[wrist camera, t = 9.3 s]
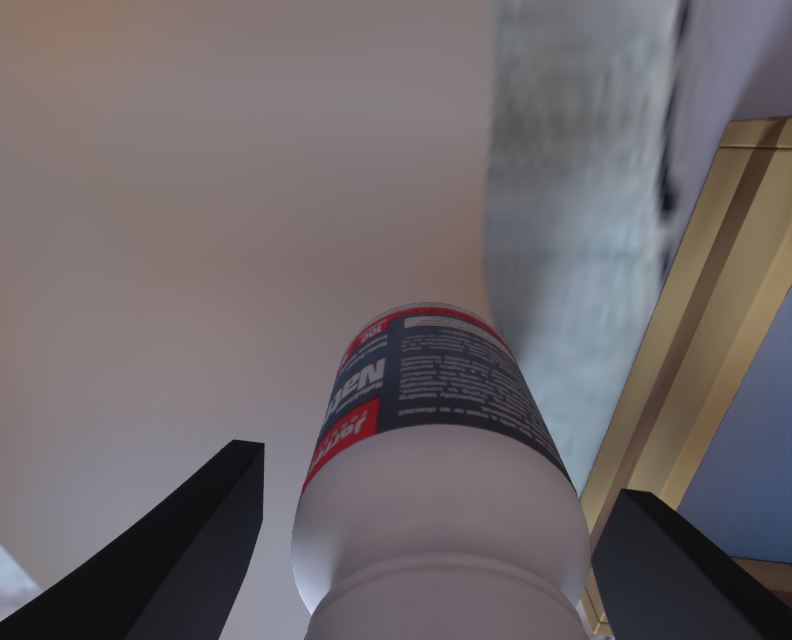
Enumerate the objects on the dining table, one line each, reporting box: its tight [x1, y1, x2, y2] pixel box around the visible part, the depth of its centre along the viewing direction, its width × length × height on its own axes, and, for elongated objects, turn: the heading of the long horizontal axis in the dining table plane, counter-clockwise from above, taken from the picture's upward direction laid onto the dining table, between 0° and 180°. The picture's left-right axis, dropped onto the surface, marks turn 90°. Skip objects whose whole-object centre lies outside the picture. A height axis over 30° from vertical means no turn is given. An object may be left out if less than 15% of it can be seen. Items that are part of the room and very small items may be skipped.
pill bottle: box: [291, 302, 591, 640], centre depth 9 cm, size 5×5×9 cm
